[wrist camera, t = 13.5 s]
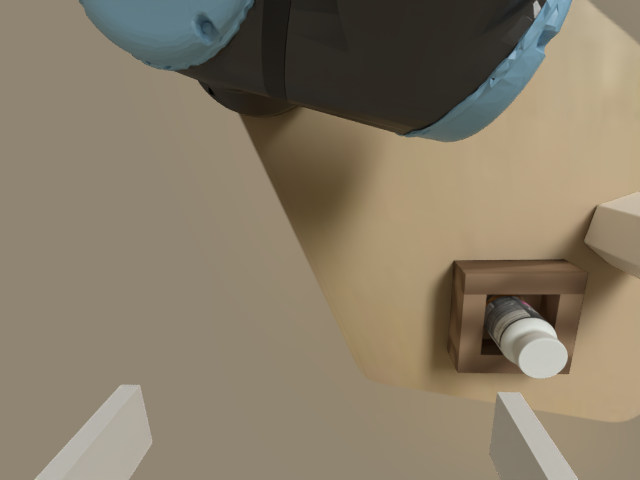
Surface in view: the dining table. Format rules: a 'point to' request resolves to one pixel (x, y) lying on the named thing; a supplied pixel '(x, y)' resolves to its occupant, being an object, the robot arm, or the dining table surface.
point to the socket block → (524, 281)
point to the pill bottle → (524, 336)
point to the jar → (617, 233)
